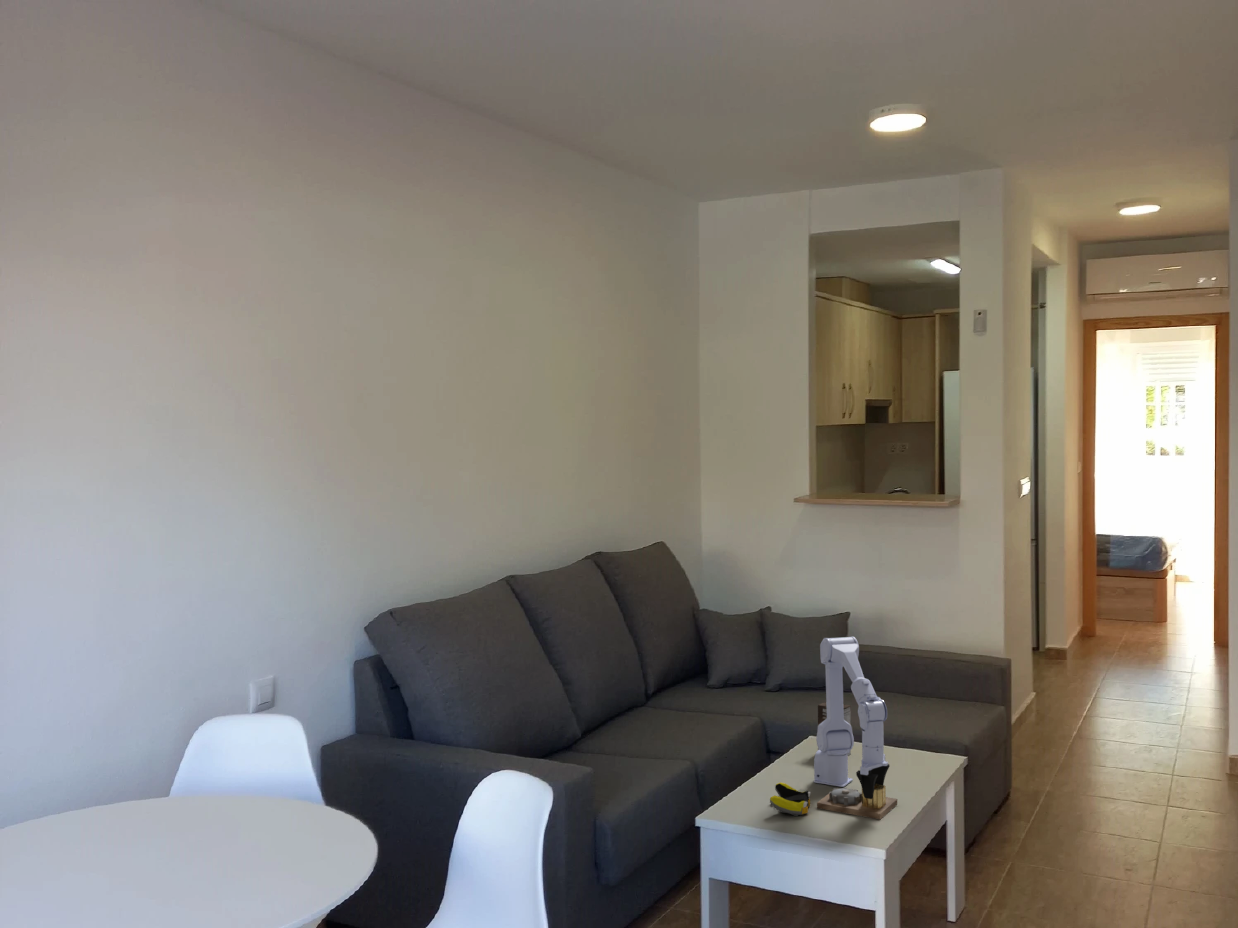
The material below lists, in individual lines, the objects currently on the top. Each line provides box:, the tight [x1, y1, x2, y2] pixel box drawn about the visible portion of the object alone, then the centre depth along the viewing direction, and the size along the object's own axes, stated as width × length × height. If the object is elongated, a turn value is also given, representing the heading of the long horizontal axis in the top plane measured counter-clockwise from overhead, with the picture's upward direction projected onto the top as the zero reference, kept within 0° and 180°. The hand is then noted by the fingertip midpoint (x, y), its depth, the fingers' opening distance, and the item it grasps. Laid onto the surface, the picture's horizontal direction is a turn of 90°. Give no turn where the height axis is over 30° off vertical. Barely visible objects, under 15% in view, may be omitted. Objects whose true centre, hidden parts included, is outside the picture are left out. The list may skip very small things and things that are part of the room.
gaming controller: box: [769, 782, 811, 817], centre depth 298 cm, size 15×6×10 cm
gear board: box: [816, 787, 898, 820], centre depth 299 cm, size 18×14×4 cm
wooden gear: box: [861, 784, 887, 809], centre depth 296 cm, size 6×6×5 cm
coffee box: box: [817, 701, 852, 756], centre depth 349 cm, size 9×6×16 cm
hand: (873, 793), depth 296 cm, fingers open, 7 cm apart
